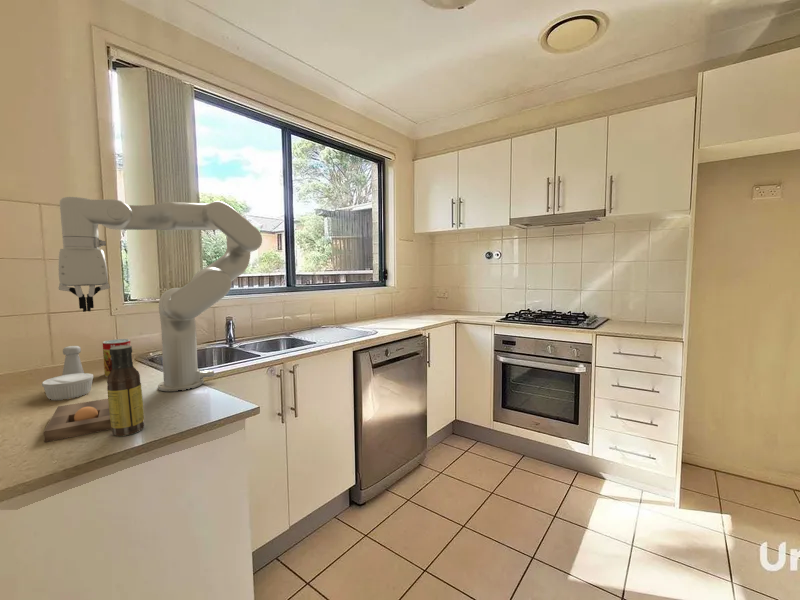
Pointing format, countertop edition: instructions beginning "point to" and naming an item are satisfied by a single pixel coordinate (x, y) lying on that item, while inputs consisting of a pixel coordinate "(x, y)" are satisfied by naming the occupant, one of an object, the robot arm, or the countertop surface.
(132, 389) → the sauce bottle
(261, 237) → the robot arm
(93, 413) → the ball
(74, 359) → the salt shaker
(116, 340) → the canned food
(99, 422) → the board
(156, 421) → the countertop surface
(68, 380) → the ramekin
